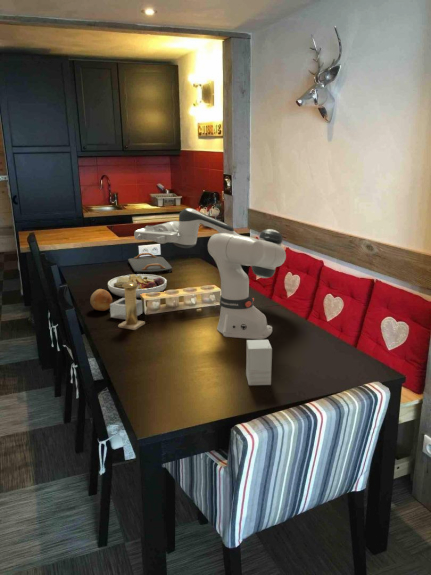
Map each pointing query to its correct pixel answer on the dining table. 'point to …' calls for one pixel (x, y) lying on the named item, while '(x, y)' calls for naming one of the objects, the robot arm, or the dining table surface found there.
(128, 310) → the cover plug
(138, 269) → the serving board
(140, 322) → the coaster
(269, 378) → the supplement box
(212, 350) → the dining table surface
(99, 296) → the onion
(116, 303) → the housing
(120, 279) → the bowl
